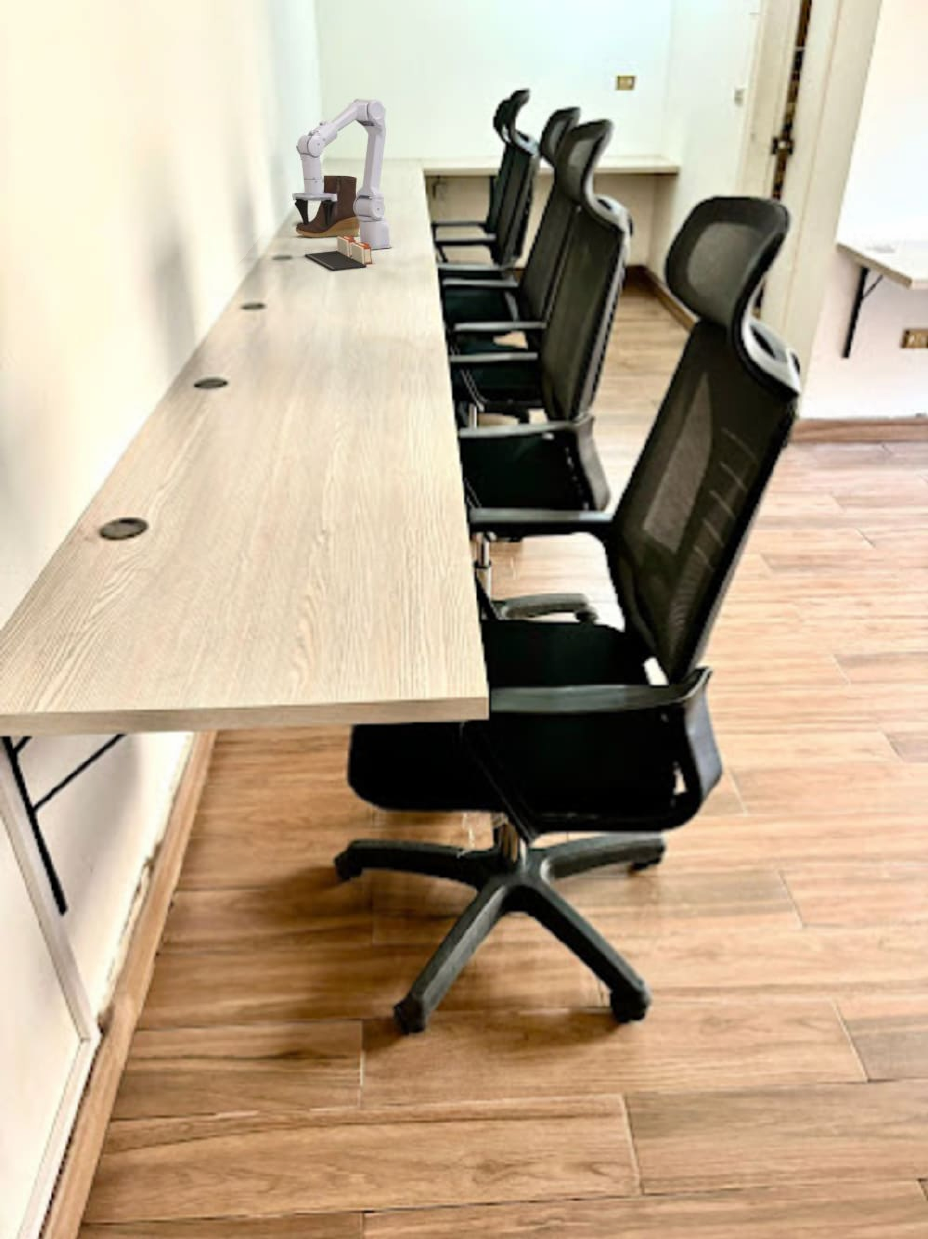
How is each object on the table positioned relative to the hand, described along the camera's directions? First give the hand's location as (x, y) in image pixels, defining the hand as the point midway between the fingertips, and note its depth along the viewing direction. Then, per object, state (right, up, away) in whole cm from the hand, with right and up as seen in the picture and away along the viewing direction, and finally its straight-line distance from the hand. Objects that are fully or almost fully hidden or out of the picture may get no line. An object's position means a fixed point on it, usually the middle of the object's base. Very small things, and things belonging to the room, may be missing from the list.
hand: (317, 225), depth 303 cm
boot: (-2, +12, +40) cm, 41 cm away
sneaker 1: (+9, -6, +9) cm, 14 cm away
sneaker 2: (+15, -12, -2) cm, 20 cm away
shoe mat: (+6, -12, -1) cm, 13 cm away
